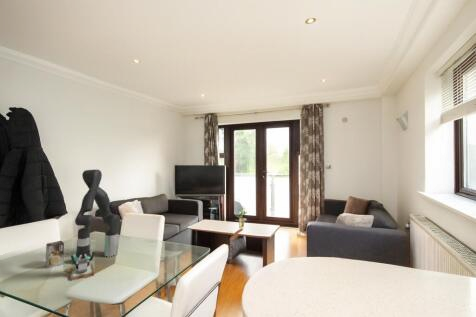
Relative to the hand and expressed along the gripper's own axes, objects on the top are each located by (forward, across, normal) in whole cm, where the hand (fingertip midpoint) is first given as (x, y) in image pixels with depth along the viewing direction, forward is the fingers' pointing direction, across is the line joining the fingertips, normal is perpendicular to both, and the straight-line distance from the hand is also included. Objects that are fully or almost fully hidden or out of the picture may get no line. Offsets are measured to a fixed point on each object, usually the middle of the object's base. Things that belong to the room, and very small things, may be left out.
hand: (82, 267), depth 165 cm
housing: (+1, 0, 0) cm, 1 cm away
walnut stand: (+4, 0, 0) cm, 4 cm away
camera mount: (+5, -1, -20) cm, 21 cm away
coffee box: (+4, +15, -22) cm, 27 cm away
